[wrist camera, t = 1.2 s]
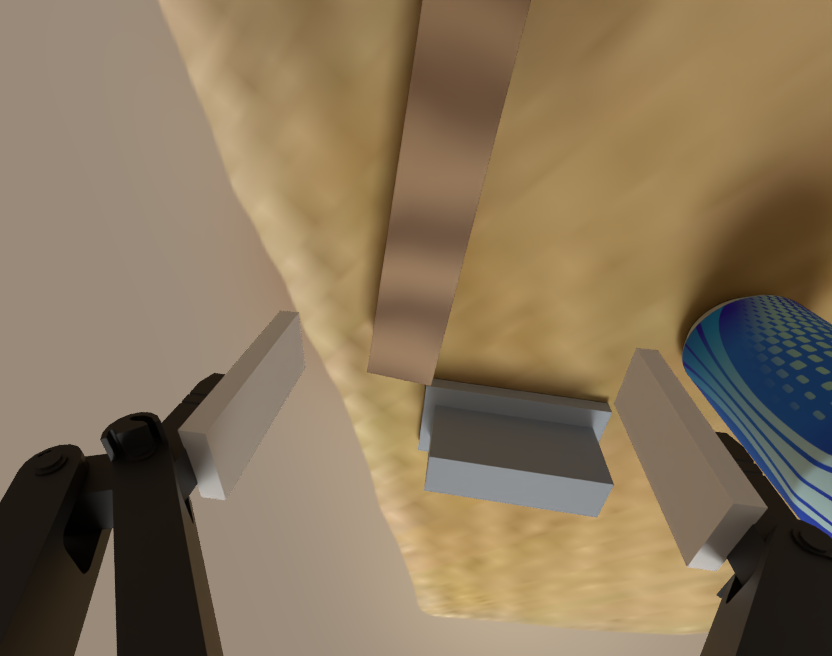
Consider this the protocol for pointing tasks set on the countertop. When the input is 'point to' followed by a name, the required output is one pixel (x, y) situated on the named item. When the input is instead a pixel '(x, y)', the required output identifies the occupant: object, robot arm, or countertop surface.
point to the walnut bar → (441, 174)
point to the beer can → (772, 392)
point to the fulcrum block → (515, 447)
